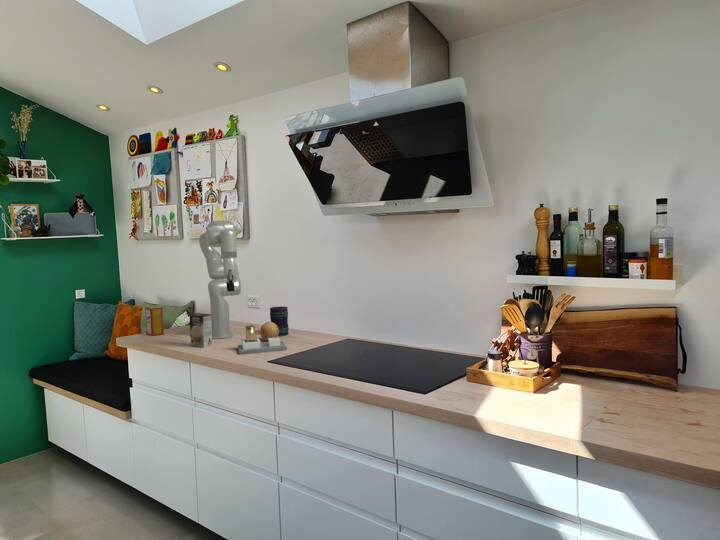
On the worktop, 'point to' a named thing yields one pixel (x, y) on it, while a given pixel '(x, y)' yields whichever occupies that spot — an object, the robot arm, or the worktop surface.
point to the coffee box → (200, 330)
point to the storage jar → (280, 319)
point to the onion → (269, 330)
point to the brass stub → (250, 333)
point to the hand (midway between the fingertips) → (230, 290)
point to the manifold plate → (261, 346)
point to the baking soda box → (154, 320)
